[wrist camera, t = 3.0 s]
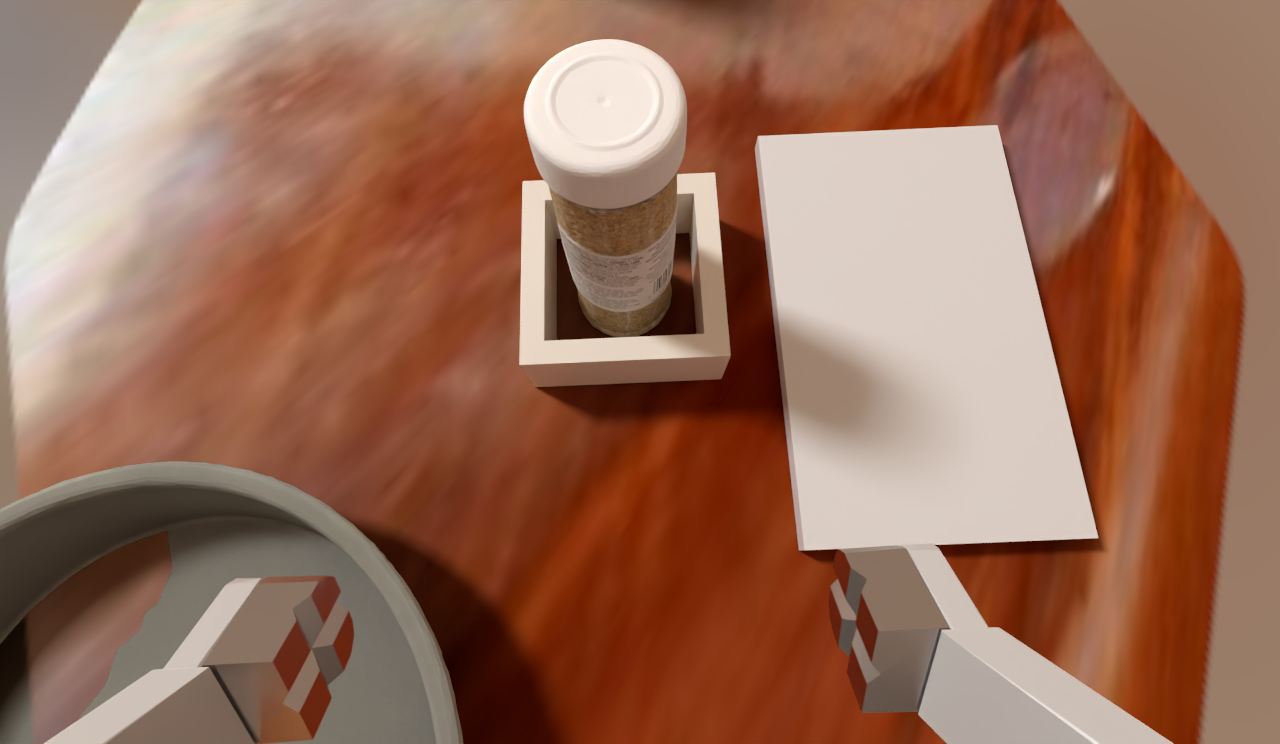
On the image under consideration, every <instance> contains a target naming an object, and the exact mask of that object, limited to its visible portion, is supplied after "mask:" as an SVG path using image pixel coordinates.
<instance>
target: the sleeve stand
mask: <svg viewBox="0 0 1280 744" xmlns="http://www.w3.org/2000/svg"><path fill="white" fill-rule="evenodd" d="M677 198H678V206H677V220H676V234H678V233H689V237H690V251H691V265H692V279H693V294H694V308H695V322H696V334H686V335H664V336H641V337H618V338H595V339H573V340H557V239H561V235H560V231H559V228H558V223H557V217H556V214H555V208H554V204H553V200H552V198H551V194H550V190H549V186H548V184H547V183H546V182H545V180H542V181H523V187H522V247H521V307H520V366H521V368H522V369H523V371H524V372H525V373H526V375H527V376H528V378H529V379H530V381H531V382H532V383H533V385H534V386H535V387H553V386H576V385H599V384H622V383H645V382H668V381H691V380H714V379H722V376H723V374H724V371H725V369H726V366H727V364H728V361H729V359H730V356H731V353H730V342H729V330H728V319H727V307H726V296H725V284H724V272H723V261H722V249H721V238H720V226H719V215H718V203H717V192H716V180H715V173H696V174H677Z"/></svg>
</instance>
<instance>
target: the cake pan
mask: <svg viewBox="0 0 1280 744" xmlns="http://www.w3.org/2000/svg"><path fill="white" fill-rule="evenodd" d="M165 531H167V533H168V541H169V549H170V556H171V564H172V572H171V574H170V576H169V579H168V581H167V583H166V585H165V588H164V590H163V592H162V595H161V597H160V599H159V601H158V604H156V605H155V606H154V607H153V608H151V609H150V610H149V611H147V612H146V613H145V615H144V619H143V623H142V627H141V630H139V631H138V632H137V633H136V634H135V635H134V636H133V637H132V638H130V639H129V640H128V641H127V642H126V643H125V644H124V645H122V646H121V647H120V648H119V649H118V650H117V652H116V655H115V658H114V661H113V664H112V667H111V670H110V673H109V676H108V679H107V682H106V685H105V687H104V688H103V689H102V690H101V692H100V693H99V694H98V695H97V696H96V698H95V699H94V700H93V701H92V703H91V704H90V705H89V706H88V707H87V709H86V710H85V711H84V712H83V713H82V715H81V716H80V717H79V718H78V720H79V719H81V718H82V717H84V716H85V715H87V714H88V713H90V712H91V711H93V710H94V709H95V708H97V707H98V706H100V705H101V704H103V703H104V702H106V701H107V700H109V699H110V698H112V697H113V696H115V695H116V694H118V693H119V692H121V691H122V690H124V689H125V688H126V687H128V686H129V685H131V684H132V683H134V682H135V681H137V680H138V679H140V678H141V677H143V676H144V675H146V674H147V673H149V672H150V671H152V670H155V669H163V668H164V667H165V666H166V664H167V663H168V662H169V660H170V659H171V658H172V656H173V655H174V653H175V652H176V651H177V649H178V648H179V647H180V645H181V644H182V643H183V641H184V640H185V639H186V637H187V636H188V635H189V633H190V632H191V631H192V629H193V628H194V627H195V625H196V624H197V623H198V621H199V620H200V618H201V617H202V616H203V614H204V613H205V612H206V610H207V609H208V608H209V606H210V605H211V604H212V602H213V601H214V600H215V598H216V597H217V596H218V594H219V593H220V592H221V590H222V589H223V588H224V586H225V585H226V584H228V583H229V582H231V581H233V580H234V579H236V578H266V577H287V576H332V577H335V579H336V581H337V584H338V586H339V588H340V590H341V593H340V595H339V597H338V599H337V601H336V602H337V603H339V604H340V605H341V606H343V607H344V608H346V609H347V610H349V612H350V615H351V618H352V620H353V628H354V640H353V646H352V652H351V656H350V658H349V660H348V663H347V665H346V667H345V670H344V672H342V673H341V674H340V675H339V676H338V677H337V678H336V679H334V680H333V681H332V682H331V683H330V684H329V685H328V686H329V689H330V693H331V696H332V699H331V701H330V703H329V706H328V708H327V710H326V712H325V714H324V717H323V719H322V721H321V723H320V725H319V728H318V730H317V732H316V734H315V736H314V739H313V740H304V741H291V742H278V743H266V744H463V737H462V730H461V725H460V720H459V716H458V711H457V706H456V700H455V694H454V691H453V688H452V684H451V679H450V675H449V672H448V670H447V667H446V665H445V662H444V660H443V657H442V651H441V649H440V647H439V645H438V642H437V640H436V638H435V635H434V633H433V631H432V629H431V627H430V625H429V623H428V622H427V620H426V618H425V616H424V613H423V611H422V609H421V607H420V605H419V603H418V602H417V600H416V598H415V597H414V595H413V593H412V592H411V590H410V589H409V587H408V586H407V584H406V583H405V581H404V580H403V578H402V577H401V575H400V574H399V573H398V572H397V571H396V570H395V568H394V567H393V565H392V564H391V563H390V562H389V561H388V560H387V558H386V557H385V555H384V554H383V553H382V552H381V551H380V550H379V549H378V548H377V546H376V545H375V544H374V543H373V542H372V541H370V540H369V539H368V538H367V537H366V536H365V535H364V534H363V533H362V532H361V531H359V530H358V529H357V528H356V526H355V525H353V524H352V523H351V522H349V521H348V520H347V519H345V518H344V517H343V516H342V515H340V514H339V513H338V512H336V511H335V510H333V509H332V508H331V507H329V506H328V505H326V504H325V503H323V502H322V501H320V500H318V499H316V498H314V497H312V496H311V495H309V494H307V493H305V492H303V491H301V490H300V489H298V488H296V487H294V486H292V485H290V484H287V483H285V482H282V481H280V480H277V479H275V478H273V477H269V476H267V475H262V474H259V473H256V472H253V471H251V470H245V469H240V468H234V467H229V466H225V465H219V464H210V463H203V462H175V461H170V462H155V463H144V464H137V465H130V466H124V467H118V468H113V469H109V470H104V471H100V472H95V473H91V474H87V475H84V476H80V477H77V478H73V479H70V480H66V481H62V482H60V483H57V484H55V485H53V486H50V487H48V488H46V489H43V490H41V491H38V492H36V493H34V494H31V495H29V496H27V497H24V498H22V499H20V500H18V501H16V502H14V503H12V504H10V505H8V506H6V507H4V508H2V509H0V744H34V741H33V718H32V696H31V689H30V665H29V660H28V638H27V614H28V613H29V612H30V611H31V610H32V609H33V608H34V607H35V606H37V605H38V604H39V603H40V602H41V601H42V600H43V599H44V598H46V597H47V596H48V595H49V594H50V593H52V592H53V591H54V590H55V589H56V588H58V587H59V586H60V585H61V584H62V583H64V582H65V581H66V580H67V579H68V578H70V577H71V576H73V575H74V574H76V573H77V572H79V571H80V570H82V569H83V568H85V567H86V566H88V565H89V564H91V563H93V562H94V561H96V560H97V559H99V558H101V557H103V556H105V555H107V554H109V553H111V552H113V551H115V550H116V549H119V548H121V547H123V546H125V545H128V544H130V543H133V542H135V541H138V540H140V539H143V538H145V537H148V536H151V535H154V534H158V533H161V532H165ZM78 720H77V721H78Z"/></svg>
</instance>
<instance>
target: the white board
mask: <svg viewBox="0 0 1280 744" xmlns="http://www.w3.org/2000/svg"><path fill="white" fill-rule="evenodd" d="M755 155H756V164H757V173H758V182H759V191H760V200H761V209H762V219H763V228H764V237H765V246H766V255H767V264H768V273H769V283H770V292H771V301H772V310H773V319H774V328H775V337H776V346H777V356H778V365H779V374H780V383H781V392H782V401H783V410H784V420H785V429H786V438H787V447H788V456H789V465H790V474H791V483H792V493H793V502H794V511H795V520H796V529H797V538H798V547H799V550H826V549H846V548H862V547H878V546H895V545H897V546H901V545H912V544H929V543H933V544H934V545H946V544H970V543H994V542H1018V541H1042V540H1066V539H1090V538H1098V534H1097V530H1096V526H1095V522H1094V518H1093V514H1092V510H1091V505H1090V501H1089V497H1088V493H1087V489H1086V485H1085V481H1084V477H1083V473H1082V469H1081V465H1080V460H1079V456H1078V452H1077V448H1076V444H1075V440H1074V436H1073V432H1072V428H1071V424H1070V420H1069V416H1068V411H1067V407H1066V403H1065V399H1064V395H1063V391H1062V387H1061V383H1060V379H1059V375H1058V371H1057V367H1056V362H1055V358H1054V354H1053V350H1052V346H1051V342H1050V338H1049V334H1048V330H1047V326H1046V322H1045V317H1044V313H1043V309H1042V305H1041V301H1040V297H1039V293H1038V289H1037V285H1036V281H1035V277H1034V273H1033V268H1032V264H1031V260H1030V256H1029V252H1028V248H1027V244H1026V240H1025V236H1024V232H1023V228H1022V224H1021V219H1020V215H1019V211H1018V207H1017V203H1016V199H1015V195H1014V191H1013V187H1012V183H1011V179H1010V174H1009V170H1008V166H1007V162H1006V158H1005V154H1004V150H1003V146H1002V142H1001V138H1000V134H999V130H998V125H990V126H969V127H947V128H925V129H903V130H881V131H860V132H838V133H816V134H794V135H772V136H758V138H757V142H756V146H755Z"/></svg>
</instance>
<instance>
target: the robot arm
mask: <svg viewBox="0 0 1280 744" xmlns="http://www.w3.org/2000/svg"><path fill="white" fill-rule="evenodd" d="M833 568H834V570H835V573H836V575H837V578H838V579H837V580H836V581H835V582H834V583H833V584H832V585H831V586H830V594H829V611H830V620H831V625H832V629H833V633H834V636H835V639H836V642H837V645H838V647H839V648H840V649H842V650H843V651H844V652H845V653H846V654H848V655H849V656H850V657H849V664H848V670H847V673H848V676H849V679H850V682H851V684H852V687H853V690H854V693H855V696H856V698H857V701H858V704H859V707H860V709H861V712H862V713H868V712H915V711H919V713H918V715H919V716H920V717H921V718H922V719H923V720H924V721H925V722H926V723H927V724H928V725H929V726H930V727H931V728H932V729H933V730H934V731H935V732H936V733H937V734H938V735H939V736H940V737H941V738H942V739H943V740H944V741H945V742H946V743H947V744H1173V743H1172V742H1170V741H1169V740H1167V739H1166V738H1164V737H1163V736H1161V735H1160V734H1158V733H1157V732H1155V731H1154V730H1152V729H1151V728H1149V727H1148V726H1146V725H1145V724H1143V723H1142V722H1140V721H1139V720H1137V719H1136V718H1134V717H1133V716H1131V715H1130V714H1128V713H1127V712H1125V711H1124V710H1122V709H1121V708H1119V707H1118V706H1116V705H1115V704H1113V703H1112V702H1110V701H1109V700H1107V699H1106V698H1104V697H1103V696H1101V695H1100V694H1098V693H1097V692H1095V691H1094V690H1092V689H1091V688H1089V687H1088V686H1086V685H1085V684H1083V683H1082V682H1080V681H1079V680H1077V679H1076V678H1074V677H1073V676H1071V675H1070V674H1068V673H1067V672H1065V671H1064V670H1062V669H1061V668H1059V667H1058V666H1056V665H1055V664H1053V663H1052V662H1050V661H1049V660H1047V659H1046V658H1044V657H1043V656H1041V655H1040V654H1038V653H1037V652H1035V651H1034V650H1032V649H1031V648H1029V647H1028V646H1026V645H1025V644H1023V643H1022V642H1020V641H1019V640H1017V639H1016V638H1014V637H1013V636H1011V635H1010V634H1008V633H1007V632H1005V631H1004V630H1002V629H1001V628H999V627H991V628H989V627H988V625H987V624H986V622H985V621H984V619H983V617H982V616H981V614H980V613H979V611H978V610H977V608H976V606H975V605H974V603H973V602H972V600H971V598H970V597H969V595H968V594H967V592H966V591H965V589H964V587H963V586H962V584H961V583H960V581H959V579H958V578H957V576H956V575H955V573H954V571H953V570H952V568H951V567H950V565H949V564H948V562H947V560H946V559H945V557H944V556H943V554H942V552H941V551H940V549H939V548H938V547H937V546H935V545H934V544H933V543H929V544H912V545H901V546H897V545H895V546H878V547H862V548H846V549H838V550H837V552H836V554H835V558H834V564H833ZM340 593H341V590H340V588H339V586H338V584H337V581H336V579H335V577H332V576H287V577H266V578H236V579H234V580H233V581H231V582H229V583H228V584H226V585H225V586H224V588H223V589H222V590H221V592H220V593H219V594H218V596H217V597H216V598H215V600H214V601H213V602H212V604H211V605H210V606H209V608H208V609H207V610H206V612H205V613H204V614H203V616H202V617H201V618H200V620H199V621H198V623H197V624H196V625H195V627H194V628H193V629H192V631H191V632H190V633H189V635H188V636H187V637H186V639H185V640H184V641H183V643H182V644H181V645H180V647H179V648H178V649H177V651H176V652H175V653H174V655H173V656H172V658H171V659H170V660H169V662H168V663H167V664H166V666H165V667H164V668H163V669H155V670H152V671H150V672H149V673H147V674H146V675H144V676H143V677H141V678H140V679H138V680H137V681H135V682H134V683H132V684H131V685H129V686H128V687H126V688H125V689H124V690H122V691H121V692H119V693H118V694H116V695H115V696H113V697H112V698H110V699H109V700H107V701H106V702H104V703H103V704H101V705H100V706H98V707H97V708H95V709H94V710H93V711H91V712H90V713H88V714H87V715H85V716H84V717H82V718H81V719H79V720H78V721H76V722H75V723H73V724H72V725H70V726H69V727H67V728H66V729H65V730H63V731H62V732H60V733H59V734H57V735H56V736H54V737H53V738H51V739H50V740H48V741H47V742H45V743H44V744H266V743H278V742H291V741H304V740H313V739H314V736H315V734H316V732H317V730H318V728H319V725H320V723H321V721H322V719H323V717H324V714H325V712H326V710H327V708H328V706H329V703H330V701H331V699H332V696H331V693H330V689H329V686H328V685H329V684H330V683H331V682H332V681H333V680H334V679H336V678H337V677H338V676H339V675H340V674H341V673H342V672H344V670H345V667H346V665H347V663H348V660H349V658H350V656H351V652H352V646H353V640H354V628H353V620H352V618H351V615H350V612H349V610H347V609H346V608H344V607H343V606H341V605H340V604H339V603H337V602H336V601H337V599H338V597H339V595H340Z"/></svg>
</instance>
